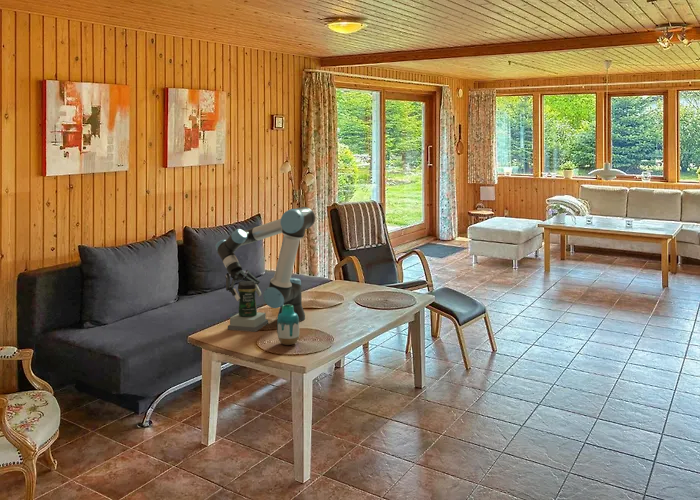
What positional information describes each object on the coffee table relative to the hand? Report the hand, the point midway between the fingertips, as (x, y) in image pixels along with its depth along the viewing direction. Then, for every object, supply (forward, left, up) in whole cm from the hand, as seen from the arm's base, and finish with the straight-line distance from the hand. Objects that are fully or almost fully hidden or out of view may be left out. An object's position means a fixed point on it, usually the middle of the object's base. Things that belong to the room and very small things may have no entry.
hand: (249, 297), depth 337 cm
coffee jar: (+2, -1, -10) cm, 11 cm away
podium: (+2, -1, -16) cm, 16 cm away
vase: (-30, +21, -16) cm, 40 cm away
